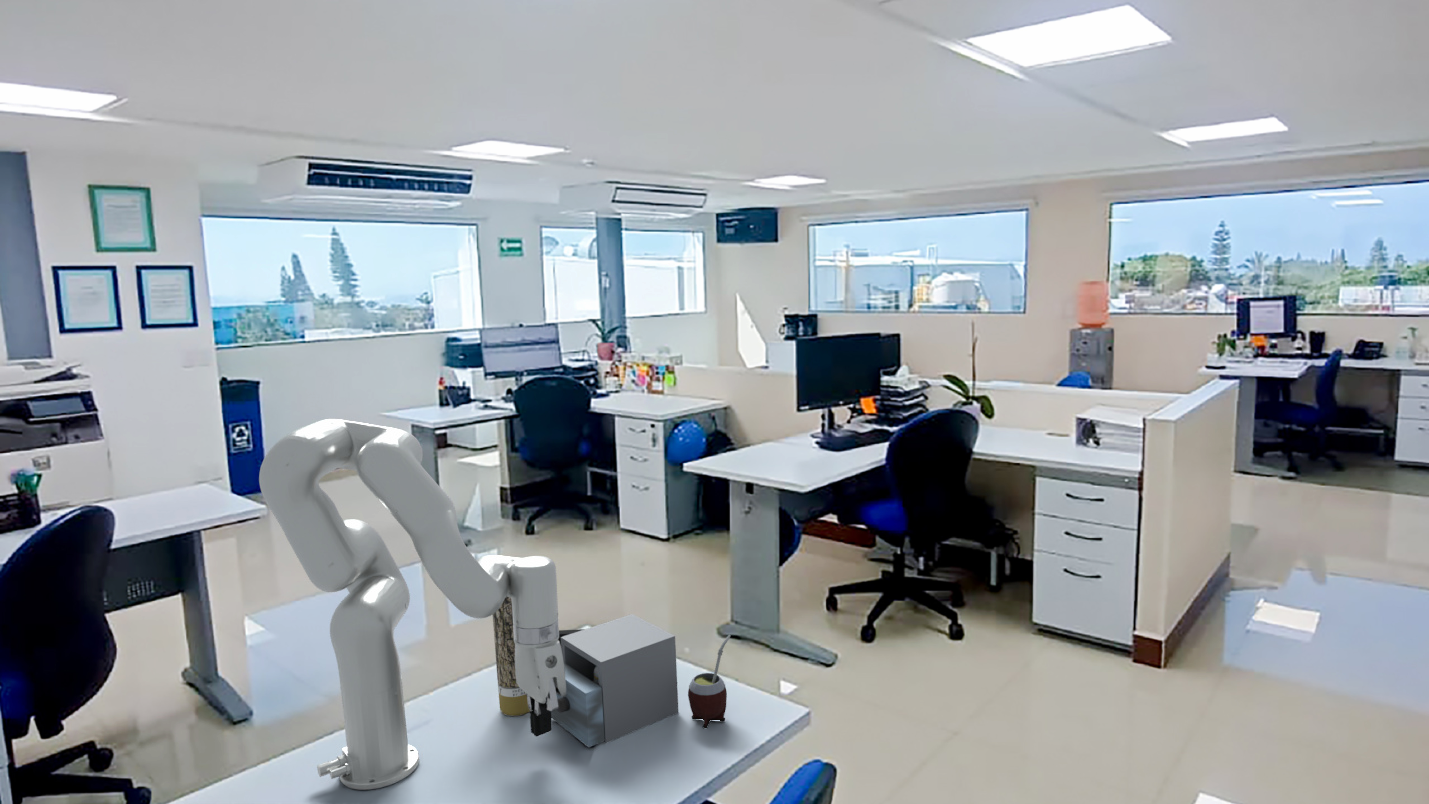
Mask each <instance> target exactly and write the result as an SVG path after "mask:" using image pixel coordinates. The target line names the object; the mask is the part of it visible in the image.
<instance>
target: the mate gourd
mask: <svg viewBox="0 0 1429 804" xmlns="http://www.w3.org/2000/svg"><path fill="white" fill-rule="evenodd" d="M731 636H732V635H731V634H730V633H729V634H728V635H727V636H726V638H725V639H724V640H723V642H722V644H721V645H720V648H719V649H718V651H717V659H716V663H715V668H714V673H713V672H703V673H699V674H696V675H695V676H694V677H693V678H692V680H691V682H690V683H689V685H688V691H687V693H688V694H687V697H688V702H689V706H690V711H691V713H692V716H691V720H692V719H703V720H704V721H703V724H702V728H703V727H704V728H707V729H708V727H709V725H710V723H709V721H710V720H720V721H726V717H725V715H726V709H727V698H728V695H727V692H728V691H727V687H726V684H725V682H724V680H723V679H722V677H721V676H719V675H718V673H719V672H718V671H719V667H720V664H721V663H720V662H721V658H722V656H723V652H724V650H723V649H724V647H725V646H726V644H727V643H728V641H729V639H730V638H731ZM708 724H709V725H708ZM707 726H708V727H707ZM704 728H703V729H704Z"/></svg>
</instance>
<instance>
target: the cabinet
mask: <svg viewBox="0 0 1429 804" xmlns="http://www.w3.org/2000/svg"><path fill="white" fill-rule="evenodd" d="M583 629H584V630H581V631H578V632H575V633H572V634H569V635H566V636H563V637H561V649H562V655H563V661H564V663H565V664H567V665H568V666H570V667H571V668H573V669H574V670H576V671H577V672H579V673H580V674H582V675H583V676H585V677H586V678H588V679H589V680H591V681H594V669H595V667H596V666H598V678H599V686H600V687H601V688H602V705H603V722H604V739H605V741H603V743H604V744H608V743H611V742H612V741H615V740H617V739H620V738H621V737H625V736H627V735H629V734H632V733H634V732H636V731H639V730H640V729H643V728H646V727H649V726H650V725H653V724H655V723H657V722H660V721H662V720H664V719H666V718H669V717H672V716H674V715H676V714H678V713H679V696H678V695H679V693H678V691H679V690H678V675H677V674H678V672H677V671H678V670H677V669H678V667H677V651H676V650H677V649H676V648H677V647H676V646H677V645H676V635H674V634H672V633H670V632H668V631H666V630H664V629H663V628H660V627H659V626H656V625H655V624H653V623H651V622H649V621H647V620H645V619H643V618H641V617H639V616H637V615H635V614H633V613H631V614H629V615H625V616H621V617H618V618H616V619H613V620H610V621H606V622H604V623H601V624H597V625H594V626H591V627H588V628H583ZM673 714H674V715H673Z"/></svg>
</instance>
